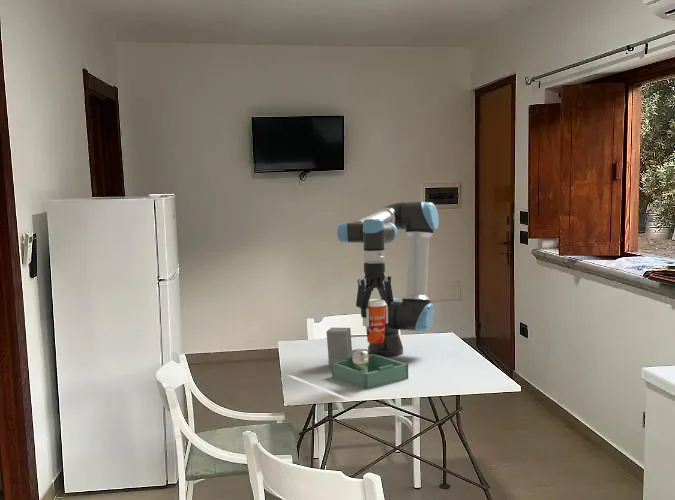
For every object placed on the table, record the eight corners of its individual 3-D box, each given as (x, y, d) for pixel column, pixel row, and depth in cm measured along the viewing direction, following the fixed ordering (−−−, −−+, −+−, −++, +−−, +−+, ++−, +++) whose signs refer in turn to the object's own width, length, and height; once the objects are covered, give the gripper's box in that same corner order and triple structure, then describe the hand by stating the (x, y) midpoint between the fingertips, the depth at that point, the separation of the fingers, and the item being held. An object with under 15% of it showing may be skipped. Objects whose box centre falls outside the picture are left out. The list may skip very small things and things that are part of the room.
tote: (332, 378, 244) (331, 360, 243) (373, 369, 255) (373, 351, 255) (365, 391, 227) (365, 371, 227) (408, 380, 239) (408, 361, 238)
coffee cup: (365, 344, 232) (365, 303, 231) (363, 339, 240) (362, 299, 239) (389, 343, 233) (388, 302, 232) (385, 338, 241) (384, 298, 240)
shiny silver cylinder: (349, 374, 246) (348, 350, 246) (362, 371, 250) (361, 348, 249) (359, 377, 242) (358, 353, 241) (372, 374, 245) (371, 350, 244)
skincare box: (353, 366, 260) (352, 327, 259) (347, 371, 253) (346, 330, 252) (333, 365, 263) (332, 326, 261) (327, 369, 256) (326, 329, 255)
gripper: (357, 265, 225) (358, 330, 227) (403, 260, 237) (404, 322, 239) (344, 263, 231) (346, 327, 233) (389, 258, 243) (390, 319, 245)
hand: (375, 324), depth 236 cm, fingers closed on coffee cup, 8 cm apart
